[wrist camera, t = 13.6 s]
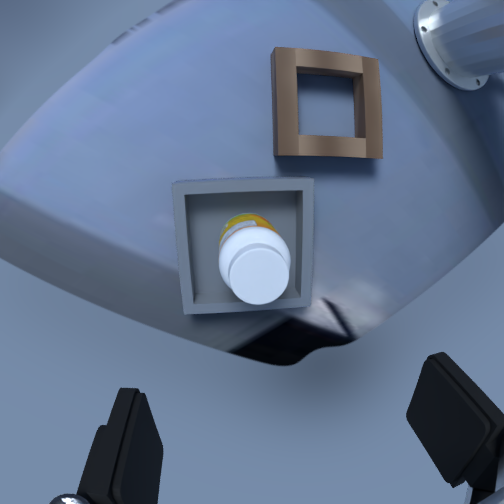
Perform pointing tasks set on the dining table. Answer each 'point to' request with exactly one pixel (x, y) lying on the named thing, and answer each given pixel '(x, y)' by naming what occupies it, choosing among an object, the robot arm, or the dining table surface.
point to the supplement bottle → (253, 259)
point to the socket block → (327, 64)
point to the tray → (213, 220)
